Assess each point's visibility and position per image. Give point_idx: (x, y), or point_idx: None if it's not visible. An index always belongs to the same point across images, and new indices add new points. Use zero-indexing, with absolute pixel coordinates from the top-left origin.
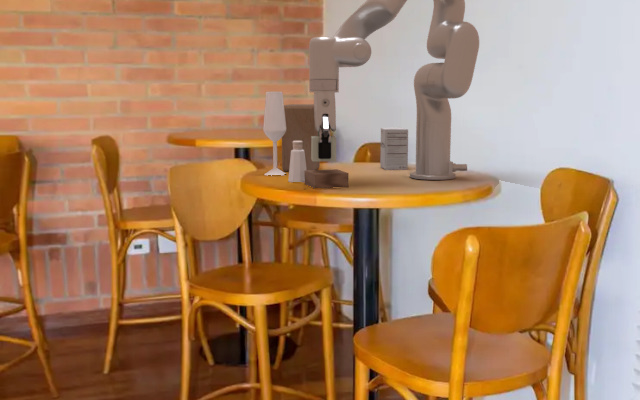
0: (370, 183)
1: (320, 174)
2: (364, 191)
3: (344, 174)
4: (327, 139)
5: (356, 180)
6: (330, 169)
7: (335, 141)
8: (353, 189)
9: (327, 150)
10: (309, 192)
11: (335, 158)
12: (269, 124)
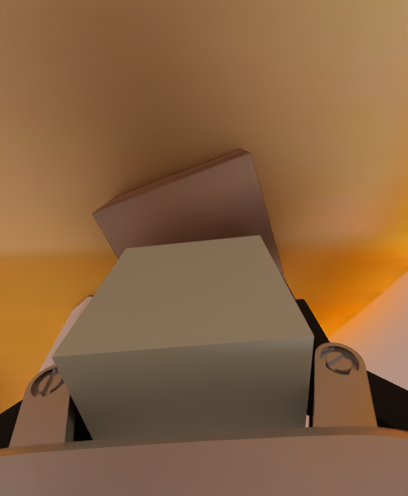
0: (112, 29)
1: (283, 275)
2: (373, 72)
3: (255, 173)
4: (389, 390)
5: (20, 108)
6: (108, 241)
7: (298, 314)
8: (305, 125)
9: (314, 318)
10: (347, 277)
11: (262, 245)
12: None
